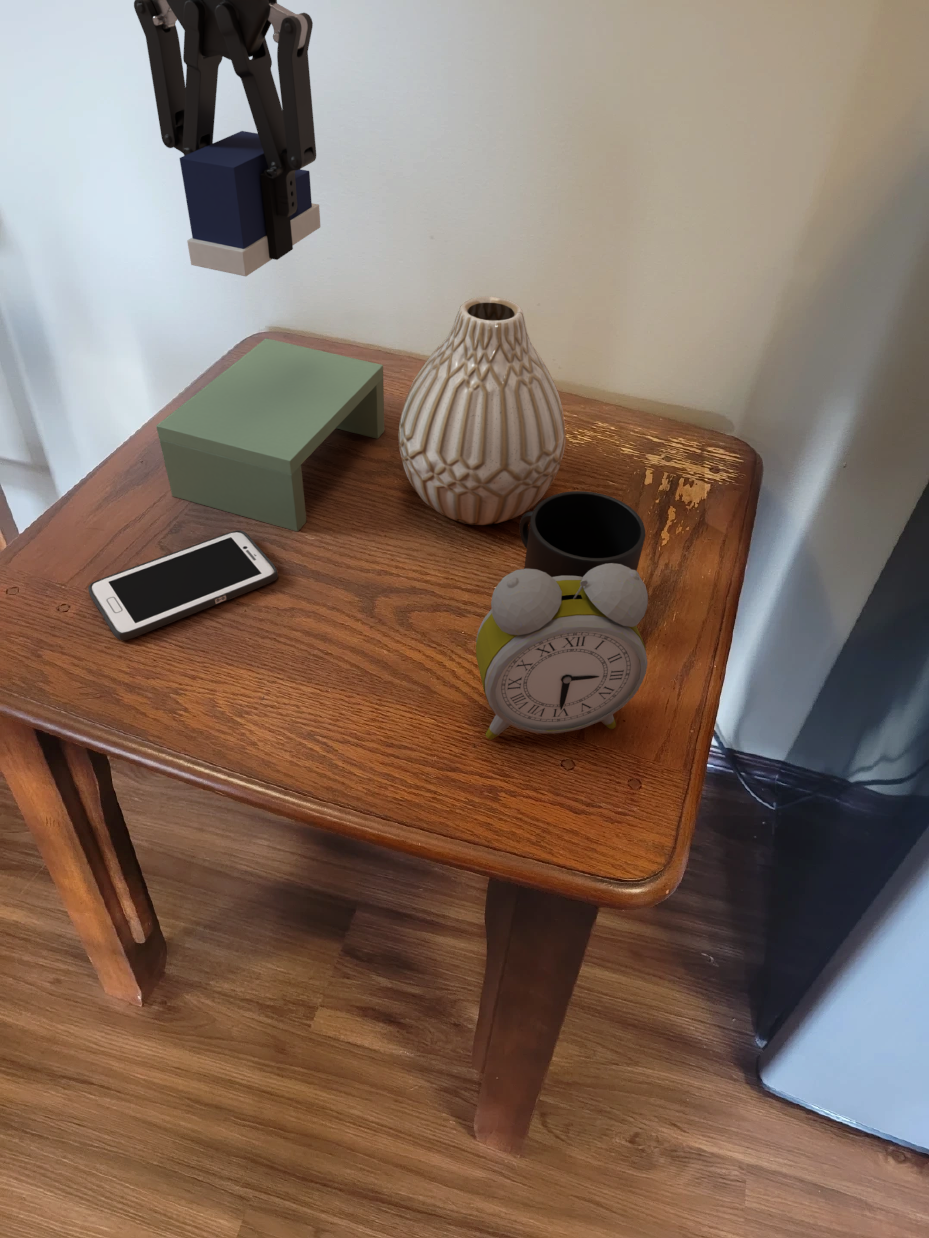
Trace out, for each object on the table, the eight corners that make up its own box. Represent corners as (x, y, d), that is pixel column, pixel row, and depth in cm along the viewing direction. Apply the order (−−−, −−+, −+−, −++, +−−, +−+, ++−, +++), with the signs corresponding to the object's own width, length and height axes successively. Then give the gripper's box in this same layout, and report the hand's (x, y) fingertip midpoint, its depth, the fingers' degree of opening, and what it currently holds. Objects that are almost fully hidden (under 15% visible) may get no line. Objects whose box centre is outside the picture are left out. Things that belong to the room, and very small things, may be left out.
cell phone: (86, 592, 73) (83, 584, 73) (243, 535, 80) (242, 526, 79) (119, 645, 69) (116, 637, 68) (282, 580, 76) (281, 572, 75)
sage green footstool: (172, 496, 84) (155, 425, 79) (273, 403, 98) (265, 338, 92) (297, 532, 81) (290, 461, 76) (384, 431, 95) (383, 364, 89)
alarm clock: (479, 756, 63) (494, 608, 53) (465, 687, 68) (476, 539, 57) (629, 742, 65) (673, 596, 54) (606, 676, 69) (641, 530, 59)
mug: (551, 544, 82) (563, 464, 75) (647, 610, 75) (669, 529, 69) (478, 584, 77) (485, 503, 71) (575, 659, 71) (592, 577, 64)
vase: (419, 447, 93) (422, 262, 79) (563, 469, 91) (592, 284, 77) (380, 534, 81) (375, 336, 68) (544, 561, 80) (574, 363, 66)
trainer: (246, 277, 69) (232, 169, 64) (190, 265, 70) (173, 159, 65) (320, 227, 78) (314, 129, 73) (270, 217, 79) (261, 121, 74)
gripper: (355, -98, 57) (365, 252, 74) (127, -121, 62) (184, 216, 78) (301, -92, 52) (325, 283, 68) (56, -117, 56) (133, 243, 72)
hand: (250, 247), depth 73 cm, fingers closed on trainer, 5 cm apart
